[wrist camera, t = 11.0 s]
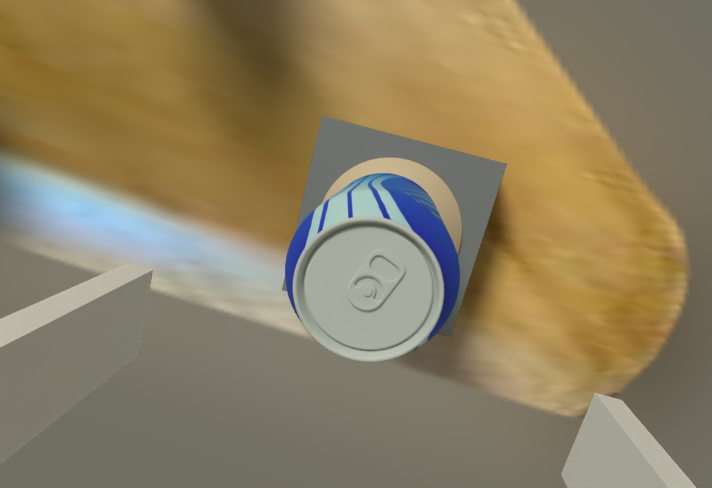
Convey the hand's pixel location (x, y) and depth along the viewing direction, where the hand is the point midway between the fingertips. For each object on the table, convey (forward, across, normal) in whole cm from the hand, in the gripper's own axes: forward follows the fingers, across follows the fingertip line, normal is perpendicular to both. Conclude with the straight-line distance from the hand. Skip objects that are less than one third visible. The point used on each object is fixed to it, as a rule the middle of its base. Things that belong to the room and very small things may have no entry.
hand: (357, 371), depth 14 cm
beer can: (+23, 0, 0) cm, 23 cm away
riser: (+28, 0, 0) cm, 28 cm away
